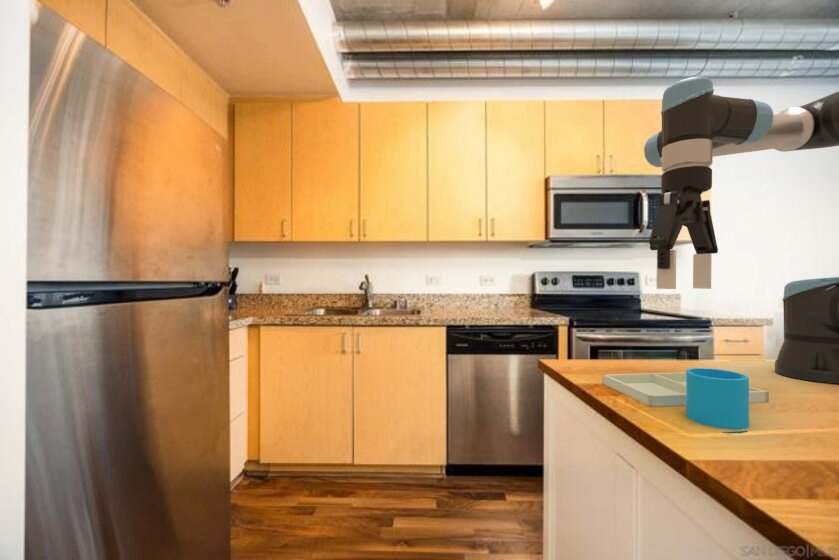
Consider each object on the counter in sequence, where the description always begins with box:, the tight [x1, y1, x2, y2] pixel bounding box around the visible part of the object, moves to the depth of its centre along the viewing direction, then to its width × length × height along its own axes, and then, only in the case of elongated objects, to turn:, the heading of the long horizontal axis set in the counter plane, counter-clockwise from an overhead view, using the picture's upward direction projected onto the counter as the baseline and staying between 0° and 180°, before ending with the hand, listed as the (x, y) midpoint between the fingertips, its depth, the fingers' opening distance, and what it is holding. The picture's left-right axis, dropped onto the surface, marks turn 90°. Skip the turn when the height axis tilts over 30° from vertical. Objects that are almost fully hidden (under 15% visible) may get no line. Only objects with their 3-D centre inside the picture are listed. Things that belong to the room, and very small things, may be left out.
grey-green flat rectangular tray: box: [601, 371, 770, 408], centre depth 80 cm, size 23×16×2 cm
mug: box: [685, 367, 750, 434], centre depth 66 cm, size 12×8×8 cm
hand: (685, 288), depth 71 cm, fingers open, 13 cm apart
